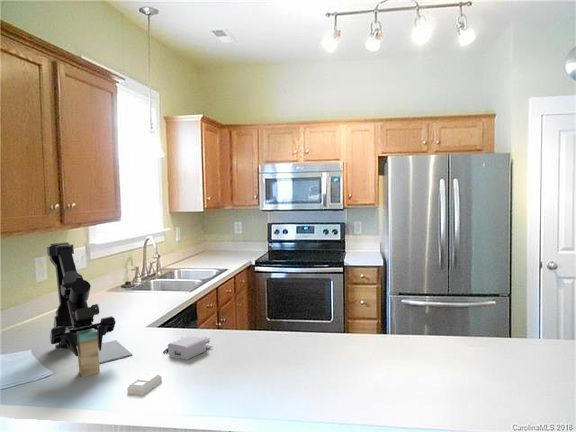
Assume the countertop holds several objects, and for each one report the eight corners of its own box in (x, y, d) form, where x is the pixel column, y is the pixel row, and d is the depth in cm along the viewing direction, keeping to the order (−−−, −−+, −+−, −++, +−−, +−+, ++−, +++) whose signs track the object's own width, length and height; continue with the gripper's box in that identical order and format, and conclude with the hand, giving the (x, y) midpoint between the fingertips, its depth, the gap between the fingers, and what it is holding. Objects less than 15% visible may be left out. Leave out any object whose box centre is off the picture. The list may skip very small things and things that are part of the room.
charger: (217, 346, 152) (187, 361, 139) (199, 342, 157) (168, 356, 144) (217, 333, 152) (186, 347, 139) (198, 330, 157) (167, 342, 144)
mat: (82, 349, 155) (82, 347, 155) (116, 341, 162) (116, 340, 162) (95, 364, 139) (95, 363, 139) (132, 355, 146) (132, 354, 146)
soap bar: (161, 382, 124) (161, 373, 124) (142, 396, 115) (142, 387, 115) (147, 380, 125) (147, 372, 125) (127, 394, 117) (127, 385, 117)
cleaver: (177, 336, 164) (189, 335, 162) (178, 340, 164) (189, 338, 162) (153, 351, 148) (166, 350, 146) (154, 355, 148) (166, 354, 146)
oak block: (79, 372, 133) (76, 331, 133) (95, 367, 136) (93, 328, 136) (82, 376, 129) (79, 335, 129) (99, 372, 132) (97, 331, 132)
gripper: (49, 302, 129) (57, 347, 121) (112, 292, 141) (123, 332, 132) (46, 322, 136) (54, 365, 128) (107, 311, 147) (118, 350, 139)
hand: (89, 352), depth 132 cm, fingers open, 6 cm apart
